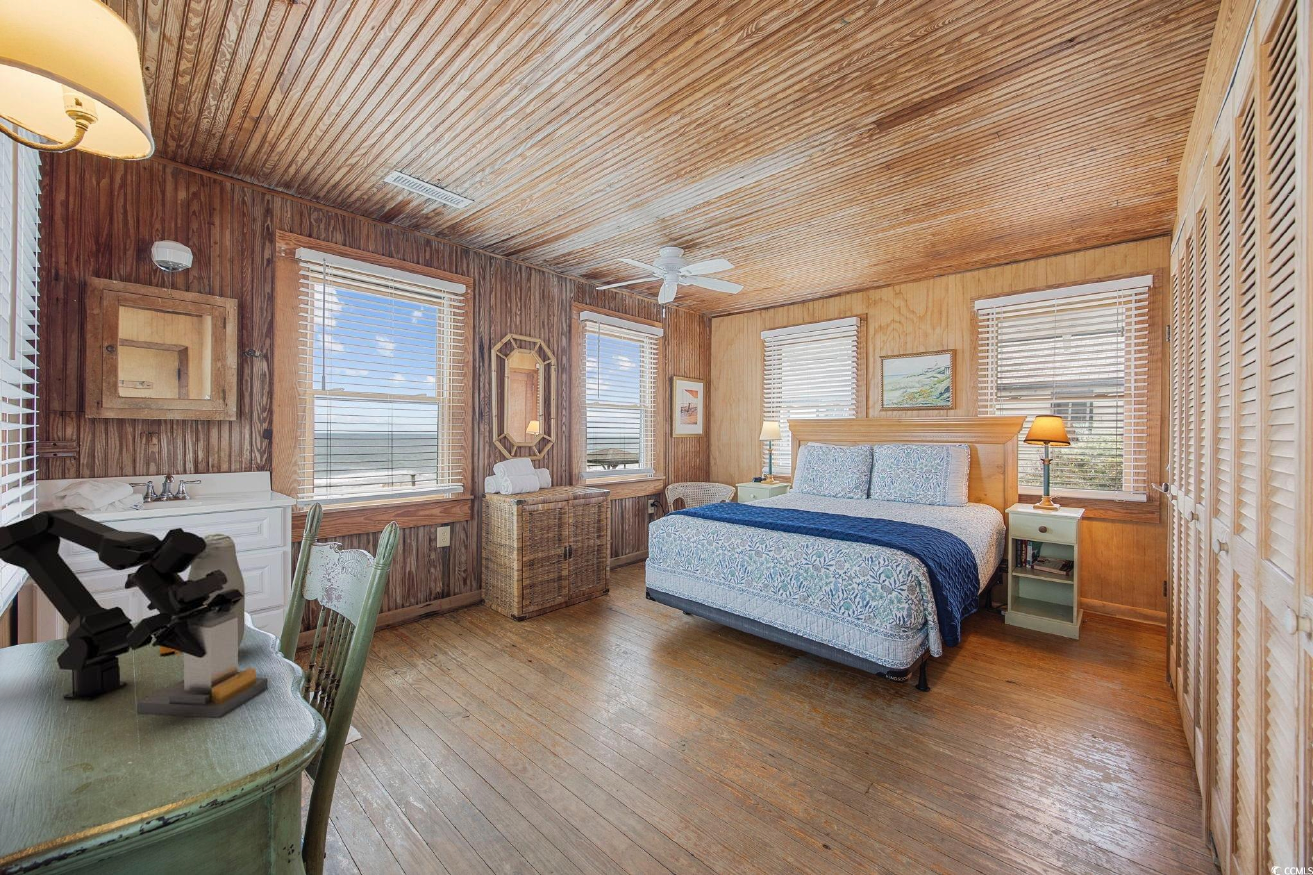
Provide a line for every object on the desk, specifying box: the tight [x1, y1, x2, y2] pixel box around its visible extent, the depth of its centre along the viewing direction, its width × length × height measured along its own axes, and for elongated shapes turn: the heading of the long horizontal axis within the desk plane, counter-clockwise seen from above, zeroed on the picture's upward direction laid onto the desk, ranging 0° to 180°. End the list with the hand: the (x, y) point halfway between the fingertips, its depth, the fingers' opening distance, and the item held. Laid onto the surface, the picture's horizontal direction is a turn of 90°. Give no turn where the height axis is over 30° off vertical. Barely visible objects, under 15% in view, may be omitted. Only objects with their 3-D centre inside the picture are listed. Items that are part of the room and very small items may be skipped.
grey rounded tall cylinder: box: [186, 533, 246, 648], centre depth 121 cm, size 10×10×28 cm
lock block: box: [183, 611, 239, 692], centre depth 103 cm, size 6×6×13 cm
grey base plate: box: [136, 668, 268, 718], centre depth 104 cm, size 16×11×4 cm
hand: (217, 649), depth 103 cm, fingers closed on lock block, 5 cm apart
